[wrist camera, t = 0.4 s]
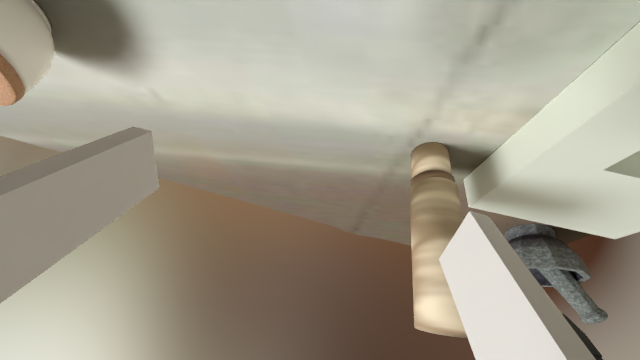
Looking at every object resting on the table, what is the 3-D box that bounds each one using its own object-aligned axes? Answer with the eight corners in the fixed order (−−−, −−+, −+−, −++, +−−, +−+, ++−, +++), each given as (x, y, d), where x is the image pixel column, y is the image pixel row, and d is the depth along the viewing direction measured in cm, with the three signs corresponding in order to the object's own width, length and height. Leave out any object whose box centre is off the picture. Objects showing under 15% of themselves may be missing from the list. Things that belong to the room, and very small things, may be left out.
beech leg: (419, 136, 27) (432, 323, 17) (460, 145, 27) (497, 337, 17) (402, 161, 31) (404, 327, 21) (438, 169, 31) (458, 338, 21)
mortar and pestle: (480, 238, 44) (495, 314, 37) (513, 214, 36) (540, 305, 29) (549, 249, 43) (577, 329, 36) (599, 226, 35) (647, 323, 28)
